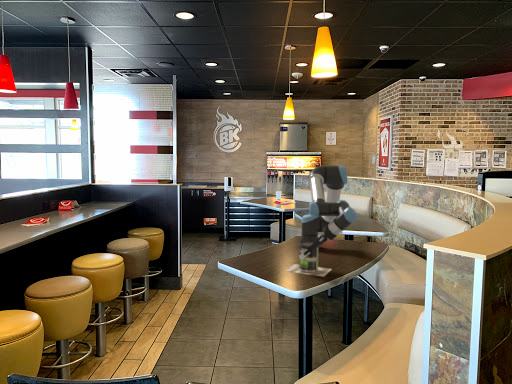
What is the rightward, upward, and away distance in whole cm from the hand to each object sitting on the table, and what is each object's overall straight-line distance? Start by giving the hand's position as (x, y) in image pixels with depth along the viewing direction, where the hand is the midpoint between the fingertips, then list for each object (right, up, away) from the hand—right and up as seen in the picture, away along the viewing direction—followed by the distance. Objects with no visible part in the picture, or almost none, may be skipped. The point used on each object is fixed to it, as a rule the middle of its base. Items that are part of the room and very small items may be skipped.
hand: (304, 255), depth 216 cm
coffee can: (+2, -8, -1) cm, 8 cm away
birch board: (+2, -9, 0) cm, 9 cm away
